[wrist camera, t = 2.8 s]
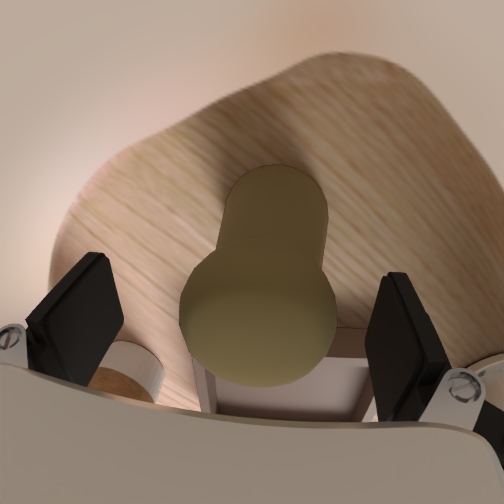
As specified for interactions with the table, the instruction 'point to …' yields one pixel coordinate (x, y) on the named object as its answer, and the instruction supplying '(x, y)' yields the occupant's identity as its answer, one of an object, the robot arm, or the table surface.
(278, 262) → the tan tall rounded piece
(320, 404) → the lacquer tray
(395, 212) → the table surface
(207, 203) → the table surface
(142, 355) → the coffee cup
